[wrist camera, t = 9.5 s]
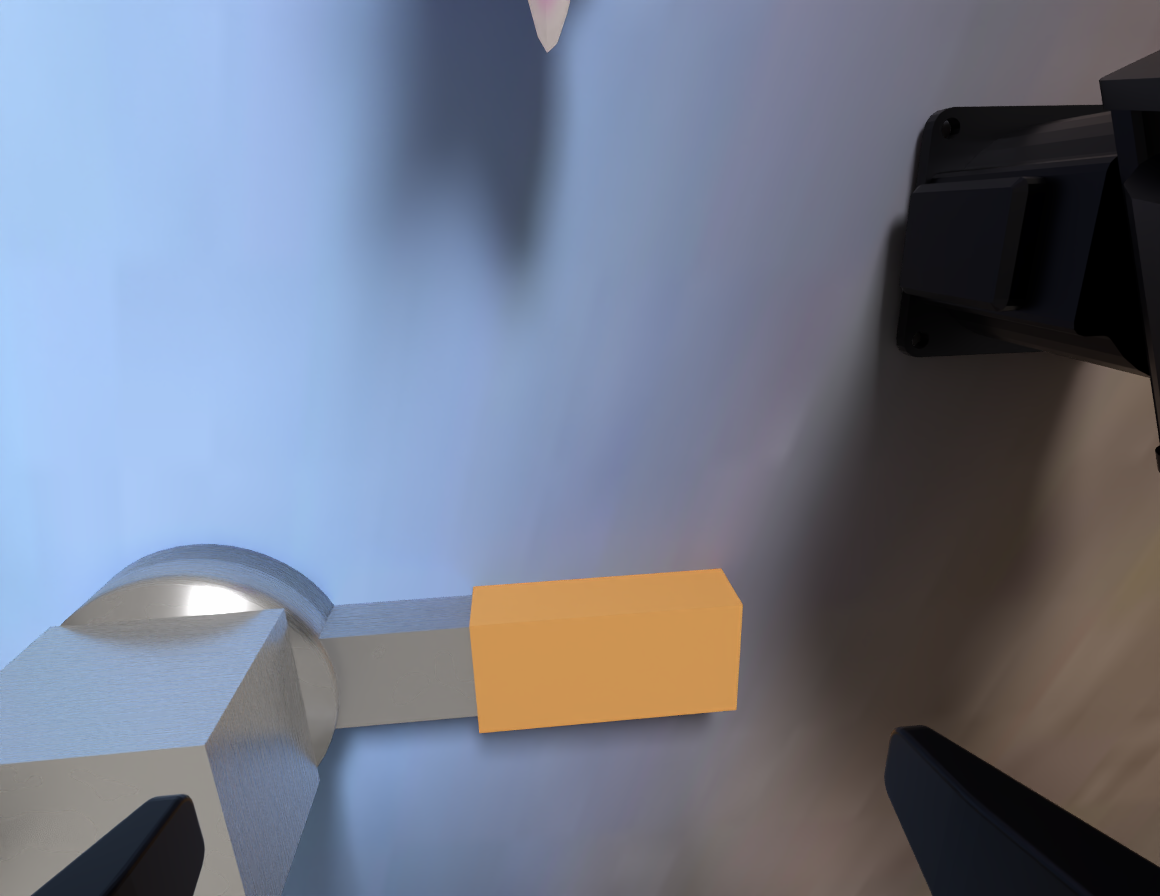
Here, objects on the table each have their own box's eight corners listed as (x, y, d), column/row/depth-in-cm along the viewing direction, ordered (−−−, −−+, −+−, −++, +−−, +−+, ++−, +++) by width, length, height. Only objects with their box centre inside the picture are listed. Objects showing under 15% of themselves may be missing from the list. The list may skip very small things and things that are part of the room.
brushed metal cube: (284, 608, 18) (204, 744, 13) (320, 780, 20) (261, 953, 15) (49, 626, 18) (-119, 775, 13) (110, 802, 20) (-17, 986, 15)
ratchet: (723, 509, 21) (790, 601, 16) (714, 714, 24) (768, 850, 19) (52, 553, 19) (-110, 672, 14) (121, 769, 22) (5, 933, 17)
